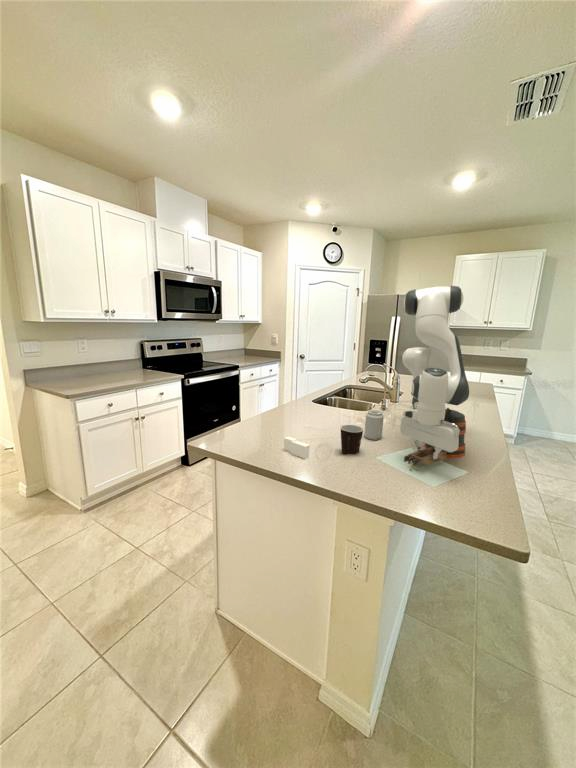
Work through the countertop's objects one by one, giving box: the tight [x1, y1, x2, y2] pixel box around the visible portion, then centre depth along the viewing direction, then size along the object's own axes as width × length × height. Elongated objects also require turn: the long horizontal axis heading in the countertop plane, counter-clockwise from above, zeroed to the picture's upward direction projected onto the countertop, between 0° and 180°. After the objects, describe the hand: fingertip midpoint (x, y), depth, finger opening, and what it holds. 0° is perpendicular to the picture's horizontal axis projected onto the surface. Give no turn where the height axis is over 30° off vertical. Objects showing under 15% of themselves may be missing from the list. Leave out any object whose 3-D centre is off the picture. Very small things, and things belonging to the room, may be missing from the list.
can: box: [363, 409, 385, 441], centre depth 135 cm, size 8×8×12 cm
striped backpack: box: [424, 407, 467, 459], centre depth 119 cm, size 19×15×20 cm
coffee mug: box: [339, 424, 364, 456], centre depth 117 cm, size 12×9×10 cm
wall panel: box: [375, 447, 470, 488], centre depth 109 cm, size 20×24×1 cm
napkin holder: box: [283, 436, 311, 460], centre depth 118 cm, size 15×11×6 cm
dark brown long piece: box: [404, 447, 447, 468], centre depth 107 cm, size 16×5×2 cm, turn 121°
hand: (425, 454), depth 107 cm, fingers closed on dark brown long piece, 5 cm apart
